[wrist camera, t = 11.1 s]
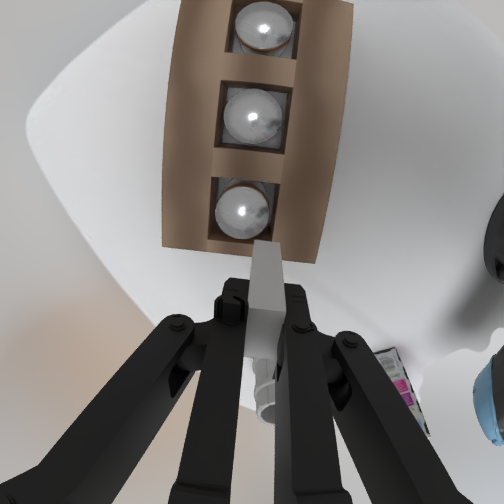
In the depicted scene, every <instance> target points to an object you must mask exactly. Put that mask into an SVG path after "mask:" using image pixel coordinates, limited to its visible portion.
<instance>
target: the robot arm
mask: <svg viewBox="0 0 504 504" xmlns="http://www.w3.org/2000/svg"><path fill="white" fill-rule="evenodd" d="M484 259H485V264H486V267H487V269H488V271H489V272H490V274H491V275H492V276H494V277H495V278H496V279H497V280H498V281H499V282H501V283H503V284H504V196H503V197H502V199H501V200H500V202H499V203H498V205H497V207H496V209H495V211H494V213H493V215H492V217H491V220H490V223H489V226H488V229H487V233H486V238H485V245H484ZM276 354H277V362H276V366H275V370H274V374H273V378H272V379H275V474H274V475H275V477H274V504H353V503H352V498H351V495H350V494H349V492H348V491H346V490H345V489H344V488H343V487H342V483H341V474H340V466H339V458H338V450H337V443H336V435H335V429H334V422H333V417H334V419H335V421H336V424H337V426H338V428H339V430H340V433H341V435H342V437H343V439H344V442H345V444H346V446H347V448H348V450H349V453H350V455H351V457H352V459H353V461H354V464H355V466H356V468H357V471H358V473H359V475H360V478H361V480H362V482H363V484H364V487H365V489H366V491H367V493H368V496H369V498H370V500H371V502H372V504H473V503H472V502H471V501H470V500H468V499H467V498H466V497H465V496H464V495H462V494H461V493H460V492H459V491H458V490H457V489H456V487H455V485H454V483H453V481H452V479H451V478H450V476H449V474H448V472H447V471H446V469H445V467H444V465H443V464H442V462H441V460H440V458H439V457H438V455H437V453H436V452H435V450H434V448H433V446H432V445H431V443H430V441H429V440H428V438H427V436H426V435H425V433H424V431H423V430H422V428H421V427H420V425H419V423H418V422H417V420H416V418H415V417H414V415H413V414H412V412H411V410H410V409H409V407H408V406H407V404H406V402H405V401H404V399H403V398H402V396H401V395H400V393H399V391H398V390H397V388H396V387H395V385H394V384H393V382H392V381H391V379H390V378H389V376H388V375H387V373H386V371H385V370H384V368H383V367H382V365H381V364H380V362H379V361H378V359H377V358H376V356H375V355H374V353H373V352H372V350H371V349H370V348H369V346H368V345H367V343H366V342H365V340H364V339H363V338H362V337H361V336H360V335H358V334H357V333H355V332H351V331H342V332H339V333H338V334H337V335H336V337H332V336H329V335H325V334H323V333H321V332H319V331H318V330H317V327H316V325H315V324H314V323H313V322H312V321H311V318H310V313H309V308H308V304H307V298H306V292H305V290H304V289H303V288H302V286H301V285H297V284H288V283H284V280H283V269H282V258H281V248H280V243H279V242H270V241H262V240H254V247H253V255H252V264H251V272H250V280H247V279H238V278H229V279H228V280H227V281H226V282H225V283H224V287H223V291H222V295H220V296H219V297H217V298H216V300H215V301H214V318H213V319H211V320H209V321H206V322H201V323H194V321H193V320H192V319H191V318H190V317H188V316H186V315H182V314H173V315H170V316H167V317H166V318H164V319H163V320H162V321H161V322H160V323H159V324H158V325H157V327H156V328H155V329H154V330H153V331H152V332H151V333H150V334H149V336H148V337H147V338H146V339H145V340H144V341H143V343H142V344H141V345H140V346H139V347H138V348H137V349H136V350H135V351H134V353H133V354H132V355H131V356H130V357H129V358H128V359H127V360H126V362H125V363H124V364H123V365H122V366H121V367H120V368H119V370H118V371H117V372H116V373H115V374H114V375H113V377H112V378H111V379H110V380H109V381H108V382H107V384H106V385H105V386H104V387H103V388H102V389H101V390H100V392H99V393H98V394H97V395H96V396H95V397H94V399H93V400H92V401H91V402H90V403H89V404H88V406H87V407H86V408H85V409H84V411H83V412H82V413H81V414H80V415H79V416H78V417H77V419H76V420H75V421H74V422H73V423H72V425H71V426H70V427H69V428H68V429H67V431H66V432H65V433H64V434H63V435H62V437H61V438H60V439H59V440H58V441H57V443H56V444H55V445H54V446H53V448H52V449H51V450H50V451H49V452H48V454H47V455H46V456H45V457H44V458H43V460H42V461H41V462H40V463H39V465H37V466H35V467H33V468H32V469H30V470H28V471H26V472H24V473H22V474H20V475H18V476H16V477H14V478H12V479H10V480H8V481H6V482H4V483H1V484H0V504H111V503H112V502H113V501H114V499H115V498H116V496H117V495H118V493H119V492H120V490H121V488H122V487H123V485H124V484H125V482H126V481H127V479H128V478H129V476H130V475H131V473H132V471H133V470H134V468H135V467H136V465H137V464H138V462H139V461H140V459H141V458H142V456H143V454H144V453H145V451H146V450H147V448H148V446H149V445H150V444H151V442H152V440H153V439H154V437H155V435H156V434H157V433H158V431H159V429H160V428H161V426H162V424H163V423H164V421H165V420H166V418H167V416H168V415H169V413H170V412H171V410H172V409H173V407H174V405H175V404H176V402H177V401H178V399H179V398H180V396H181V394H182V393H183V391H184V389H185V388H186V386H187V385H188V383H189V381H190V380H191V378H192V377H193V375H194V373H195V371H197V370H201V373H200V377H199V381H198V386H197V390H196V394H195V399H194V403H193V407H192V412H191V416H190V421H189V426H188V430H187V434H186V439H185V443H184V448H183V452H182V457H181V462H180V467H179V471H178V476H177V479H176V481H175V483H174V484H173V486H172V488H171V492H170V496H169V501H168V504H230V495H231V480H232V470H233V459H234V450H235V439H236V428H237V419H238V409H239V399H240V388H241V378H242V368H243V357H253V358H263V359H275V358H276ZM473 402H474V408H475V412H476V415H477V418H478V421H479V423H480V426H481V428H482V430H483V432H484V434H485V435H486V437H487V438H488V439H489V440H491V441H492V443H493V444H494V445H496V446H501V445H504V345H503V347H502V348H501V349H500V350H499V351H498V353H497V354H495V355H493V356H492V358H491V359H490V362H489V363H488V364H487V365H486V367H485V368H484V369H483V370H482V371H481V373H480V374H479V375H478V377H477V378H476V380H475V383H474V387H473Z"/></svg>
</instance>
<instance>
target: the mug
mask: <svg viewBox="0 0 504 504" xmlns="http://www.w3.org/2000/svg"><path fill="white" fill-rule="evenodd" d="M276 362H277V354H276V358H275V359H263V358H254V359H253V371H254V373H255V377H256V385H255V389H254V398H255V401H256V413H257V418H258V419H259V420H260V421H261V422H263V423H265V424H267V425H273V426H275V379H272V378H273V374H274V370H275V366H276ZM333 419H334V417H333Z"/></svg>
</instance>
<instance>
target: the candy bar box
mask: <svg viewBox="0 0 504 504" xmlns="http://www.w3.org/2000/svg"><path fill="white" fill-rule="evenodd" d="M374 355H375V356H376V358H377V359H378V361H379V362H380V364H381V365H382V367H383V368H384V370H385V371H386V373H387V375H388V376H389V378H390V379H391V381H392V382H393V384H394V385H395V387H396V388H397V390H398V391H399V393H400V395H401V396H402V398H403V399H404V401H405V402H406V404H407V406H408V407H409V409H410V410H411V412H412V414H413V415H414V417H415V418H416V420H417V422H418V423H419V425H420V427H421V428H422V430H423V431H424V433H425V435H426V436H427V438H428V440H429V438H430V437H431V436H430V433H429V430H428V428H427V425H426V422H425V419H424V416H423V414H422V411H421V409H420V406H419V403H418V400H417V398H416V395H415V393H414V391H413V388H412V385H411V383H410V380H409V378H408V376H407V373H406V371H405V369H404V366H403V364H402V362H401V359H400V357H399V355H398V353H397V350H396V348H392V349H388V350H385V351H381V352H377V353H374Z"/></svg>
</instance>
